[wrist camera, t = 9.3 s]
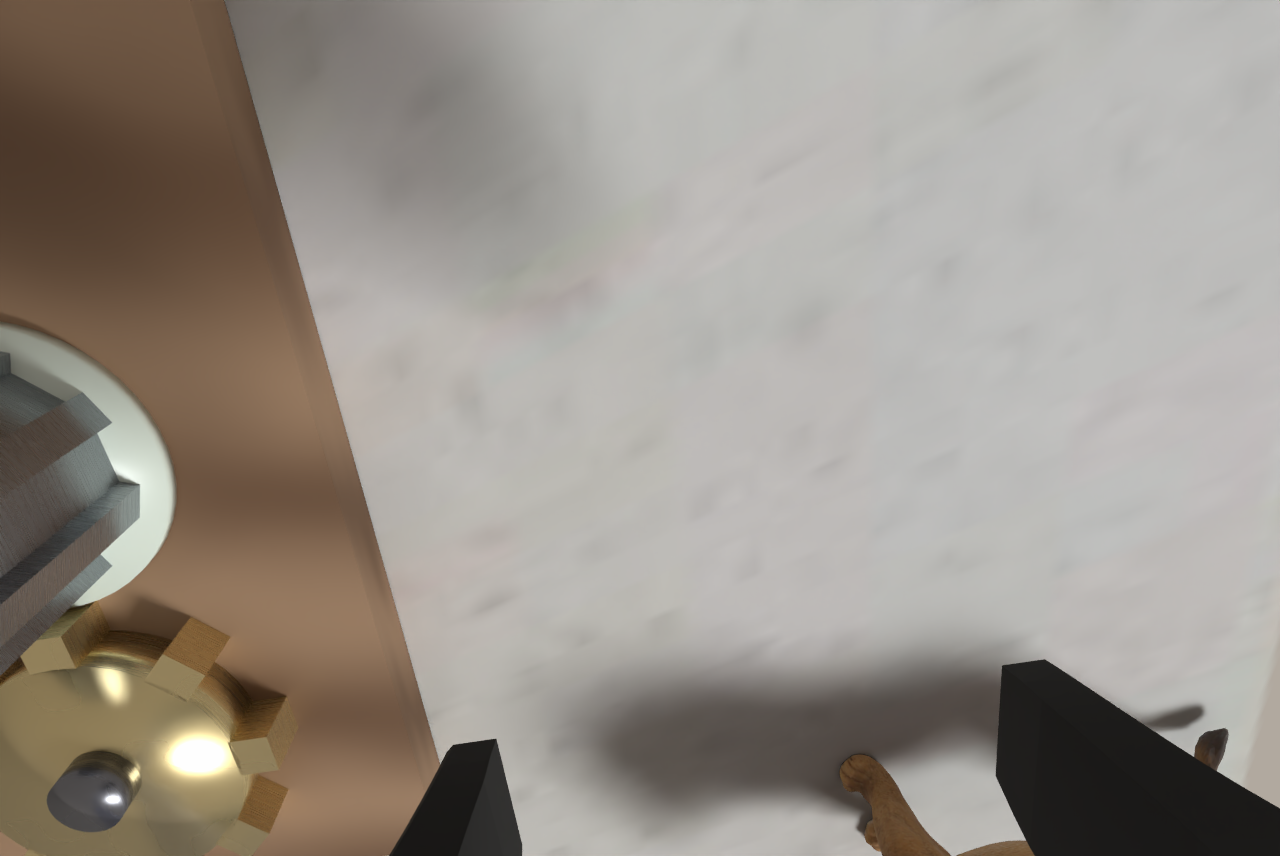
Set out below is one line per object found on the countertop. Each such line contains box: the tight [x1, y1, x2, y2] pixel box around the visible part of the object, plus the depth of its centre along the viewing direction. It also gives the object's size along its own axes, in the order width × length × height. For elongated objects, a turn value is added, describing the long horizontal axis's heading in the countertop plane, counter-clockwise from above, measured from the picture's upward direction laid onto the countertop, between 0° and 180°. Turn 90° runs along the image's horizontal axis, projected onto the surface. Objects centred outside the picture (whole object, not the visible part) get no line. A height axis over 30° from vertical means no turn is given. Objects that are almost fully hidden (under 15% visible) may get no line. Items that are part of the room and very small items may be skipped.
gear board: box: [0, 0, 440, 856], centre depth 17 cm, size 23×13×4 cm, turn 7°
